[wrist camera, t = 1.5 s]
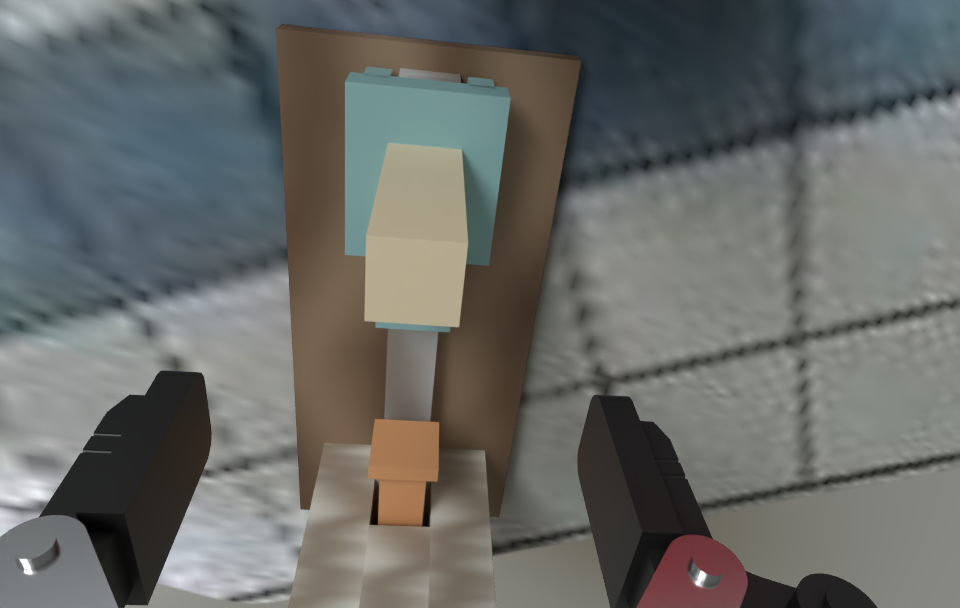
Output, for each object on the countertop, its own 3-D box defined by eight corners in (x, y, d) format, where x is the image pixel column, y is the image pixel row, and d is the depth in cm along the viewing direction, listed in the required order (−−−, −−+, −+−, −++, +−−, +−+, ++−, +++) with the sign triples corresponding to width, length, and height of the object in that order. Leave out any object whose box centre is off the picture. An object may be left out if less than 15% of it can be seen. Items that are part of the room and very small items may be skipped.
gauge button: (439, 422, 33) (438, 469, 30) (430, 505, 36) (429, 554, 33) (375, 418, 32) (368, 466, 30) (372, 503, 36) (366, 553, 33)
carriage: (504, 80, 26) (536, 176, 17) (480, 275, 31) (495, 432, 22) (354, 65, 26) (303, 155, 17) (352, 266, 30) (312, 422, 21)
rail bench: (577, 55, 27) (646, 137, 18) (497, 505, 41) (513, 682, 32) (281, 24, 26) (189, 93, 17) (303, 497, 40) (260, 679, 31)
